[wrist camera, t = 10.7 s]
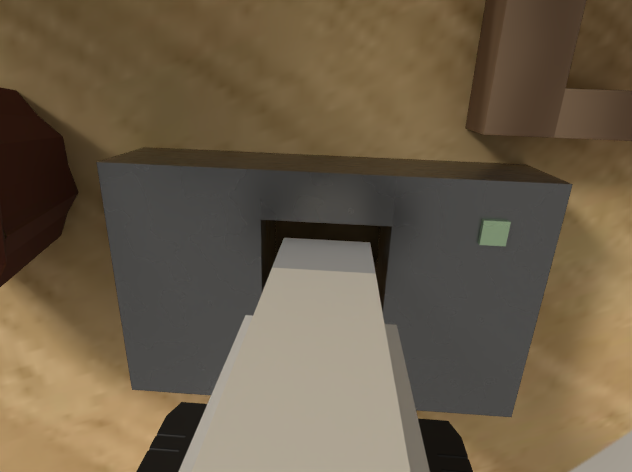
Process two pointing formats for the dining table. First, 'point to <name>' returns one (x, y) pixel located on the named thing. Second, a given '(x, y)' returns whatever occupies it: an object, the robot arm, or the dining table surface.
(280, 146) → the dining table surface
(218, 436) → the plug
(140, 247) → the switch box
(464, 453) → the robot arm
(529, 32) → the brown wooden square frame
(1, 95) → the muffin
